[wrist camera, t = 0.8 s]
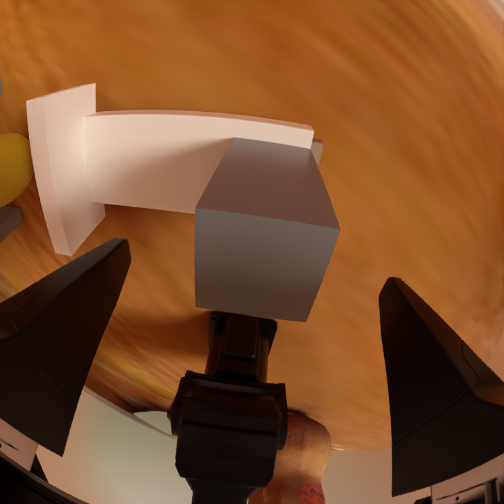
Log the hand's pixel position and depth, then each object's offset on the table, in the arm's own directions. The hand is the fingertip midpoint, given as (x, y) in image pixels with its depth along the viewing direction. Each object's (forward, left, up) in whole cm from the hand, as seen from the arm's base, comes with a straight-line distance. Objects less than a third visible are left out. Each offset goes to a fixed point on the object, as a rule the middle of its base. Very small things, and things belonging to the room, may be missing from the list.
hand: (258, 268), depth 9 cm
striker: (0, +5, -9) cm, 11 cm away
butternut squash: (-40, -10, -11) cm, 42 cm away
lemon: (0, +20, -11) cm, 23 cm away
